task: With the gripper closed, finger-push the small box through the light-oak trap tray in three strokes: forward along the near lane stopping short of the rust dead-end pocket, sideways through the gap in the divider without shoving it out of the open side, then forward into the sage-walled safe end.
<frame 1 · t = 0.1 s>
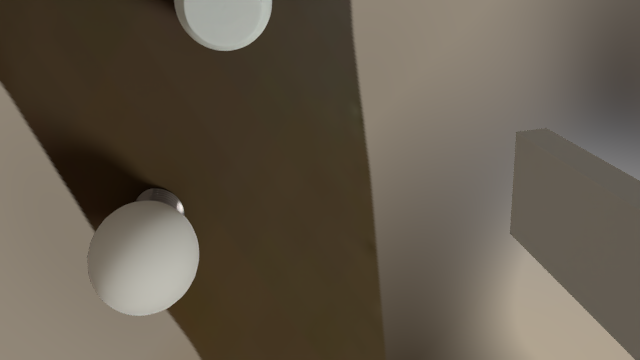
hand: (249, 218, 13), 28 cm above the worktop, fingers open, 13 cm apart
light bulb: (157, 210, 43), on the worktop
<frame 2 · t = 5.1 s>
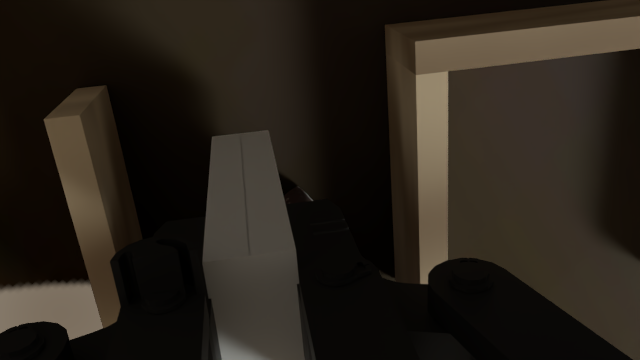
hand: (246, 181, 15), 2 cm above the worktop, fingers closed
box: (283, 291, 19), on the worktop, touching gripper
trap tray: (479, 357, 21), on the worktop
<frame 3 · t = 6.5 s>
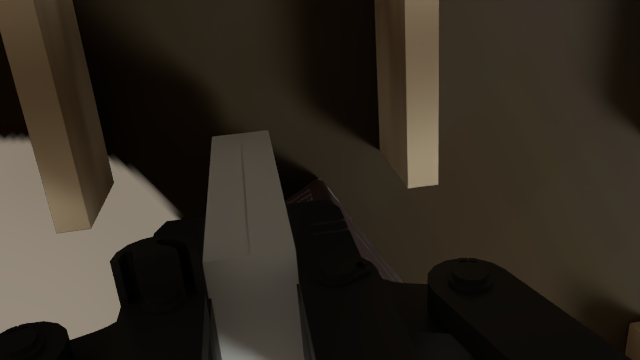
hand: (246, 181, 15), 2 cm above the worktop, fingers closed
box: (297, 286, 19), on the worktop, touching gripper
trap tray: (473, 252, 19), on the worktop
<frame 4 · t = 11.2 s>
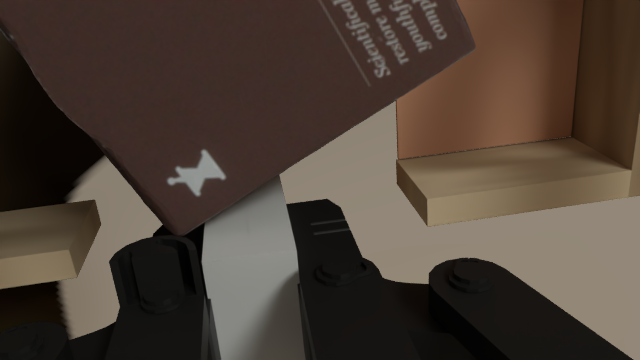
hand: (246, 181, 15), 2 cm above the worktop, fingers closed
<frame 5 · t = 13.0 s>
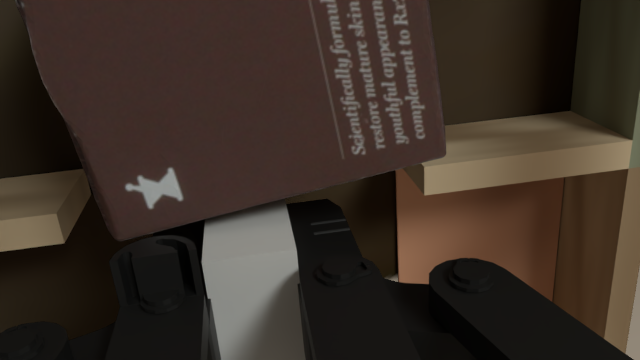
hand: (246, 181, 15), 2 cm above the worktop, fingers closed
trap tray: (214, 73, 16), on the worktop
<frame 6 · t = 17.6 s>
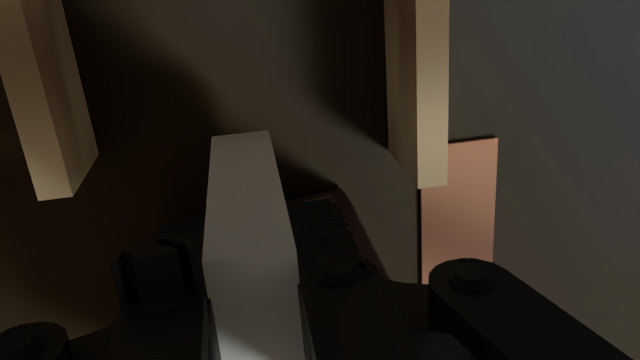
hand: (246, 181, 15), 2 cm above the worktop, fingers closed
box: (272, 280, 19), on the worktop, touching gripper
trap tray: (201, 262, 18), on the worktop
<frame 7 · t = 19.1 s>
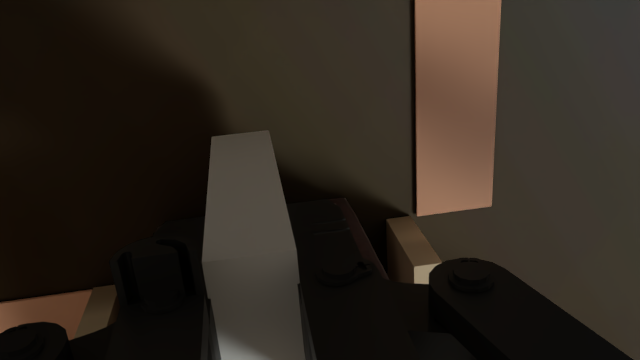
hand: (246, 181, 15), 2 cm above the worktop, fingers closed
box: (265, 285, 19), on the worktop, touching gripper
trap tray: (167, 120, 16), on the worktop
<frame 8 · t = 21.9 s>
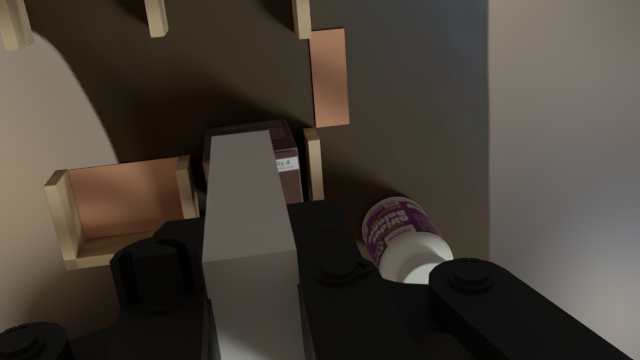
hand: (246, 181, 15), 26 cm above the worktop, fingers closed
box: (251, 158, 43), on the worktop
trap tray: (211, 84, 41), on the worktop
pill bottle: (391, 223, 47), on the worktop
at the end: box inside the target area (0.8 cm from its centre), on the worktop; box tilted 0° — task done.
